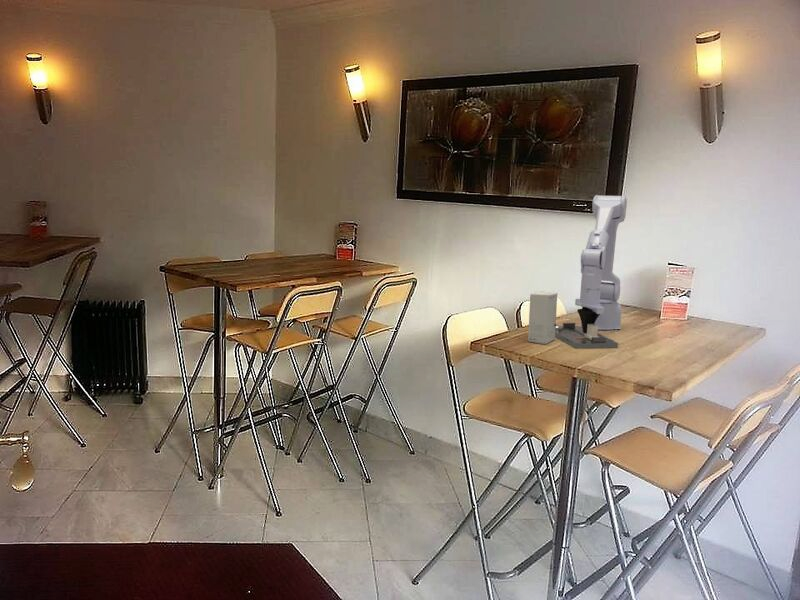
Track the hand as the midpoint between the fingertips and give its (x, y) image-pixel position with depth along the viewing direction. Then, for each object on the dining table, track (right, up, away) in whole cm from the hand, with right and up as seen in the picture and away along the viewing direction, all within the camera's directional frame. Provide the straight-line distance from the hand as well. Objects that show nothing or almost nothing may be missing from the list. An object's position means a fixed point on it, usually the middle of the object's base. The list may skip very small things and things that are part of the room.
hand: (587, 332), depth 181 cm
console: (-1, -2, +3) cm, 4 cm away
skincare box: (-14, -3, 0) cm, 14 cm away
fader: (0, -1, -3) cm, 3 cm away
